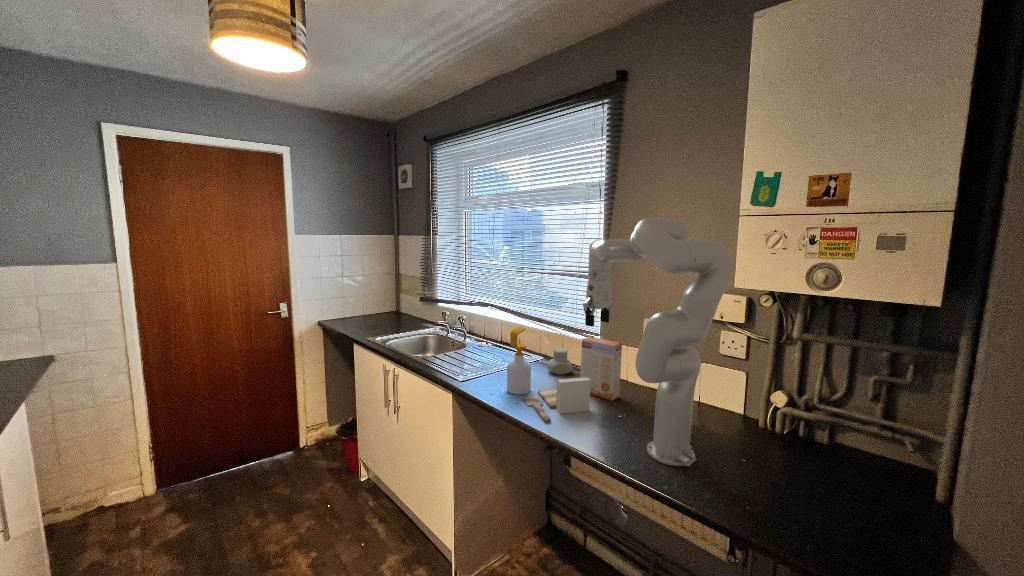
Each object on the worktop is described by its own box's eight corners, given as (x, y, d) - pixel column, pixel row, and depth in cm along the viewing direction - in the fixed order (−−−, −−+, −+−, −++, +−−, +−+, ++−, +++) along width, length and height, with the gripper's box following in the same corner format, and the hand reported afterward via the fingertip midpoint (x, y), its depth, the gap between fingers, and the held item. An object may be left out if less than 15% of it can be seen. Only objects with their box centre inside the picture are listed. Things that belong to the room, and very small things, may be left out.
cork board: (587, 404, 151) (587, 402, 151) (550, 408, 147) (550, 405, 147) (572, 390, 164) (572, 387, 164) (537, 393, 161) (538, 390, 160)
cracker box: (620, 397, 158) (623, 342, 155) (611, 401, 154) (614, 345, 151) (587, 387, 167) (590, 335, 164) (579, 391, 163) (581, 338, 160)
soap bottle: (535, 391, 162) (536, 329, 158) (515, 397, 157) (516, 332, 153) (521, 384, 169) (522, 324, 166) (502, 389, 164) (503, 327, 160)
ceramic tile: (589, 410, 146) (590, 380, 145) (559, 413, 143) (560, 382, 142) (585, 407, 149) (586, 377, 147) (556, 409, 146) (557, 379, 145)
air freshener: (548, 375, 180) (548, 352, 178) (546, 369, 188) (546, 347, 187) (573, 376, 180) (574, 353, 178) (570, 369, 188) (571, 347, 187)
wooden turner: (556, 422, 137) (556, 418, 137) (539, 423, 136) (539, 420, 136) (536, 398, 156) (537, 394, 156) (522, 399, 155) (522, 396, 155)
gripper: (594, 278, 138) (593, 329, 140) (621, 274, 151) (619, 321, 153) (575, 276, 143) (574, 325, 145) (602, 273, 156) (601, 318, 158)
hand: (597, 323), depth 149 cm, fingers open, 9 cm apart
